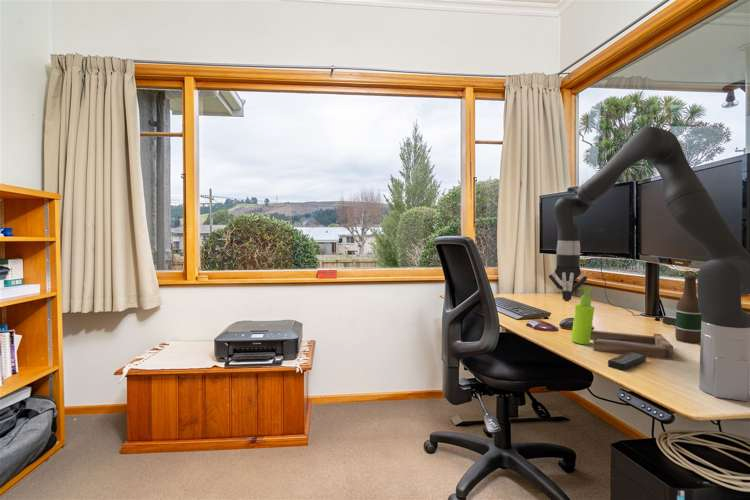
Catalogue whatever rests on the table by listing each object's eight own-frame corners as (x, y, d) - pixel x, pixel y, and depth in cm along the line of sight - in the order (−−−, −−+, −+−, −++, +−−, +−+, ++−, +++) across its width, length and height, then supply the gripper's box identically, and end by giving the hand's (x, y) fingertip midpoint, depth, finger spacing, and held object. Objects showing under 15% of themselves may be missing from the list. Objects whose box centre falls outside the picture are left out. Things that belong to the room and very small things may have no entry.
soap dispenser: (565, 339, 138) (572, 285, 136) (578, 338, 141) (585, 285, 139) (579, 345, 133) (587, 288, 131) (592, 343, 135) (600, 288, 134)
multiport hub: (607, 367, 113) (607, 360, 112) (630, 358, 120) (630, 351, 120) (623, 372, 109) (623, 364, 109) (646, 362, 117) (646, 355, 117)
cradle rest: (672, 359, 119) (673, 346, 118) (593, 350, 128) (593, 338, 128) (660, 345, 133) (660, 334, 133) (589, 338, 142) (590, 327, 142)
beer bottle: (707, 344, 134) (710, 276, 133) (682, 343, 135) (684, 276, 134) (693, 338, 141) (696, 274, 140) (670, 337, 143) (672, 273, 142)
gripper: (547, 253, 136) (546, 301, 137) (590, 254, 130) (588, 304, 131) (548, 252, 143) (546, 298, 144) (588, 253, 137) (586, 300, 138)
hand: (566, 301), depth 138 cm, fingers closed
